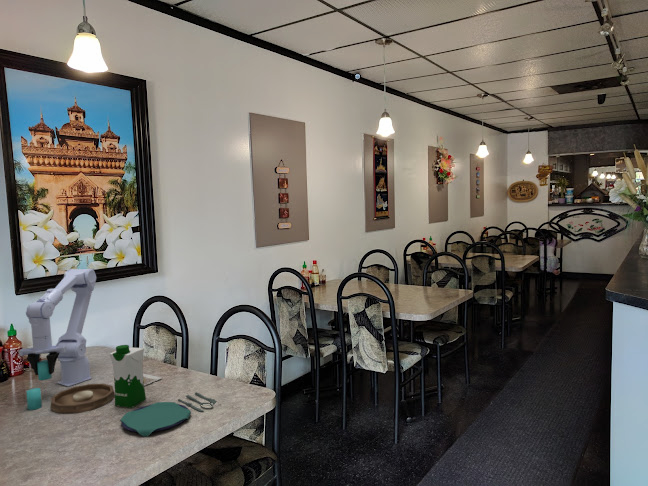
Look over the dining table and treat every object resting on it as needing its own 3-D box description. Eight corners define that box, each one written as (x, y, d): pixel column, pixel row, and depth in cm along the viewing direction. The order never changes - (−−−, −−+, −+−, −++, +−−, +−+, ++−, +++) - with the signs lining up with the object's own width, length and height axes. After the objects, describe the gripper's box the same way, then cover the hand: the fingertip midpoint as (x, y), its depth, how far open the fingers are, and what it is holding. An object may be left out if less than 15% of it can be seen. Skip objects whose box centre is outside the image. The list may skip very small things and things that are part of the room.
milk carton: (110, 406, 158) (106, 347, 157) (129, 396, 167) (126, 340, 165) (131, 409, 155) (127, 349, 154) (150, 398, 164) (146, 341, 162)
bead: (37, 404, 162) (36, 387, 162) (44, 406, 160) (42, 389, 160) (25, 408, 159) (24, 391, 158) (31, 411, 157) (30, 393, 156)
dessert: (136, 391, 172) (135, 378, 172) (115, 386, 178) (114, 373, 178) (162, 380, 182) (161, 368, 182) (141, 375, 189) (140, 364, 188)
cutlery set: (109, 423, 146) (109, 416, 146) (195, 394, 168) (195, 388, 168) (140, 444, 132) (140, 436, 132) (229, 409, 155) (228, 403, 154)
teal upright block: (47, 375, 171) (46, 359, 170) (53, 377, 169) (52, 360, 168) (36, 379, 167) (34, 362, 167) (42, 381, 165) (40, 364, 165)
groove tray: (93, 386, 177) (92, 380, 177) (126, 396, 167) (126, 389, 166) (38, 406, 160) (38, 399, 160) (72, 418, 150) (71, 410, 150)
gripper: (13, 340, 162) (16, 379, 163) (58, 337, 164) (61, 375, 165) (23, 335, 169) (26, 372, 170) (67, 332, 171) (69, 369, 172)
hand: (44, 373), depth 168 cm, fingers closed on teal upright block, 4 cm apart
